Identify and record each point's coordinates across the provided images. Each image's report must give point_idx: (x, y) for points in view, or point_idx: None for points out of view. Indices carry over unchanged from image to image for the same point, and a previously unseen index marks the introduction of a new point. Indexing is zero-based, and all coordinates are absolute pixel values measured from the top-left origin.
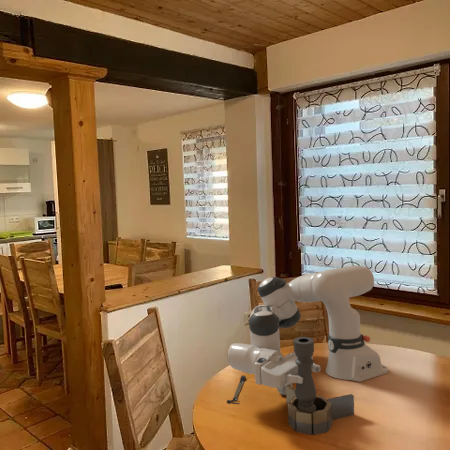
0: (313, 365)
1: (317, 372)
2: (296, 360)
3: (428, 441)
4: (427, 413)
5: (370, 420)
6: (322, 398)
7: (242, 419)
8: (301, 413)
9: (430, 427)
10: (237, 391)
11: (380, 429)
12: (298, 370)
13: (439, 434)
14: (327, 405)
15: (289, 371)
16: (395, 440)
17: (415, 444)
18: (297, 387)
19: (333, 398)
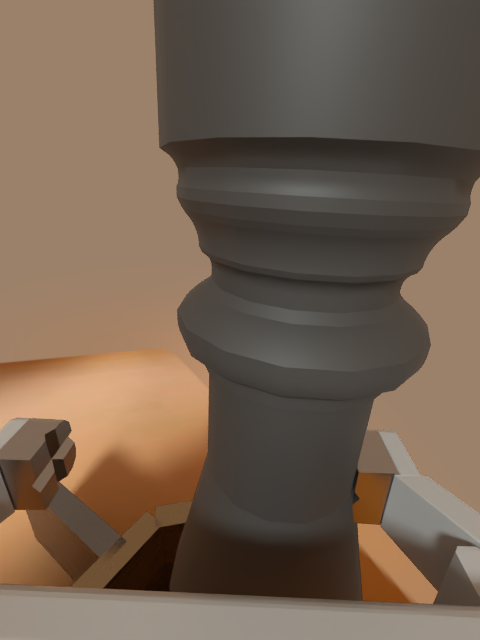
0: (13, 458)
1: (72, 462)
2: (400, 333)
3: (165, 362)
4: (26, 379)
5: (92, 464)
6: (95, 587)
7: None
8: None
9: (101, 367)
10: None
11: (146, 430)
12: (362, 440)
13: (129, 356)
14: (183, 518)
15: (449, 606)
16: (189, 396)
17: (188, 372)
18: (355, 585)
19: (82, 525)
